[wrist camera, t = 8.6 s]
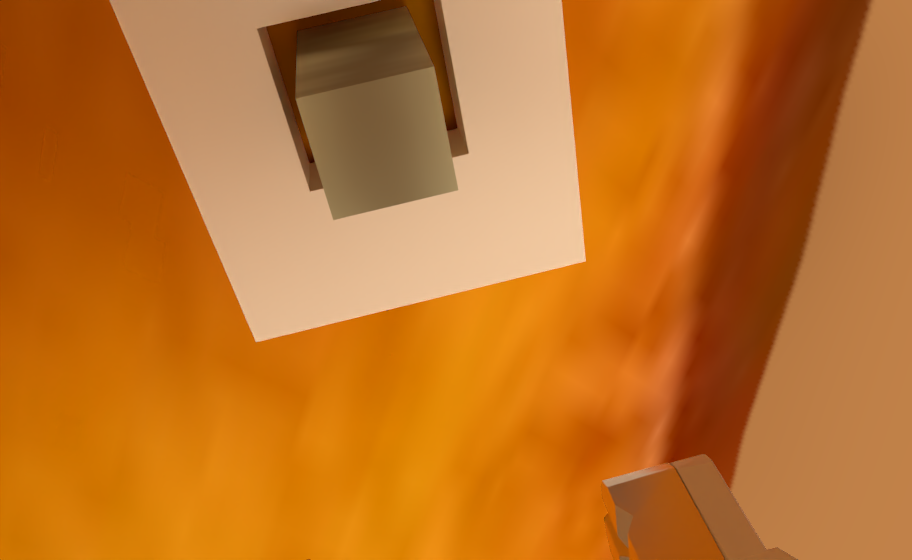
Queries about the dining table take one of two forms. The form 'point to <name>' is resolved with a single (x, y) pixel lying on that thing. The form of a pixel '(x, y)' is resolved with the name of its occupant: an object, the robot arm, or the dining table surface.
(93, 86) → the dining table surface
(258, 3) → the puzzle board
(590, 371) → the dining table surface
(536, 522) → the dining table surface
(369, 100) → the block
